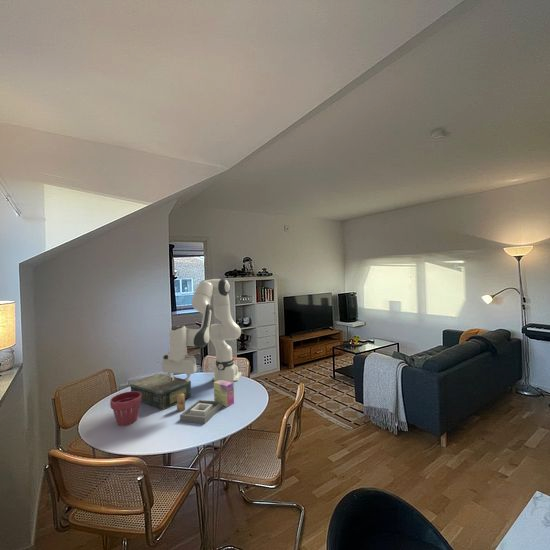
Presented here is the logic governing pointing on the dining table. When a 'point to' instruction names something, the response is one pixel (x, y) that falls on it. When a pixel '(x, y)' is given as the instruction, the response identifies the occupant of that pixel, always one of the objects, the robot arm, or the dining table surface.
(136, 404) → the plant pot
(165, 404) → the metal box
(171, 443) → the dining table surface
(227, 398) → the box
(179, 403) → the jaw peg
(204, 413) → the housing
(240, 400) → the dining table surface
